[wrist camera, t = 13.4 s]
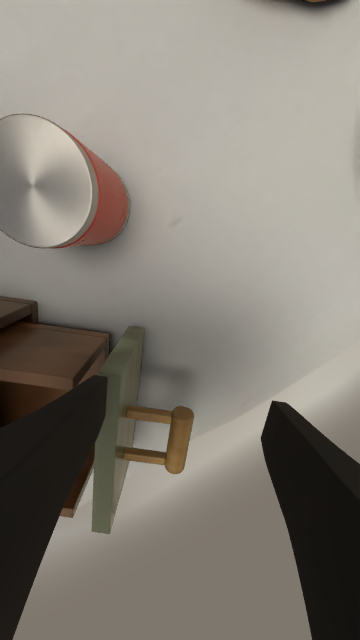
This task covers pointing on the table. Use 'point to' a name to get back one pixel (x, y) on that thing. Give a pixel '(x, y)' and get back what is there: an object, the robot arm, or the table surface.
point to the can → (56, 187)
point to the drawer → (121, 406)
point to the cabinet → (17, 311)
